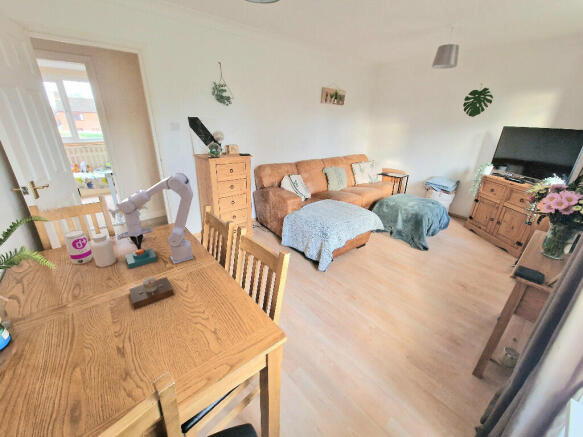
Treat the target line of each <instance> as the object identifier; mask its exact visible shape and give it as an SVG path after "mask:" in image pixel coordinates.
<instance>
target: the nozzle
mask: <svg viewBox="0 0 583 437" xmlns="http://www.w3.org/2000/svg"><path fill="white" fill-rule="evenodd" d="M134 252H136V255H141V254H143V253H144V248H142V247H141V249H139V250H138V249H135V251H134Z"/></svg>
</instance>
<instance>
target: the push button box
mask: <svg viewBox="0 0 583 437" xmlns="http://www.w3.org/2000/svg"><path fill="white" fill-rule="evenodd" d="M143 249H144V248H143ZM125 259H126V262H127V266H128V269H129V270H131V269H134V268H137V267H142V266H144V265H148V264H151V263H154V262H158V258H157V255H156V253H155V251H154V249H153V248H148V249H144V253H143V254H141V255H136V252H135V251H133V252H132V253H129V254H125Z"/></svg>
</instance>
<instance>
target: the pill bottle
mask: <svg viewBox="0 0 583 437" xmlns="http://www.w3.org/2000/svg"><path fill="white" fill-rule="evenodd" d="M91 239H92V241H91V242H90V243H89V245H90V248H91V251H92V254H93V259H94V261H95V265H96V266H97V267H99V268H105V267H109V266H111V265H114V264H115V263H116V262H117V257H116V254H115V250H114V246H113V243H112V240H111V239H110V238H108V237H107V234H106V233H103V232H102V233H96V234H94V235H92V236H91Z"/></svg>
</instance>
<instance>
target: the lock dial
mask: <svg viewBox="0 0 583 437" xmlns="http://www.w3.org/2000/svg"><path fill="white" fill-rule="evenodd" d="M156 280H157V279H156V278H155V277H147V278H146V279H144V280H143V281H142V285H144V289H145V292H148V293H149V292H153V291H155V290H156V289H157V284H156Z"/></svg>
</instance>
